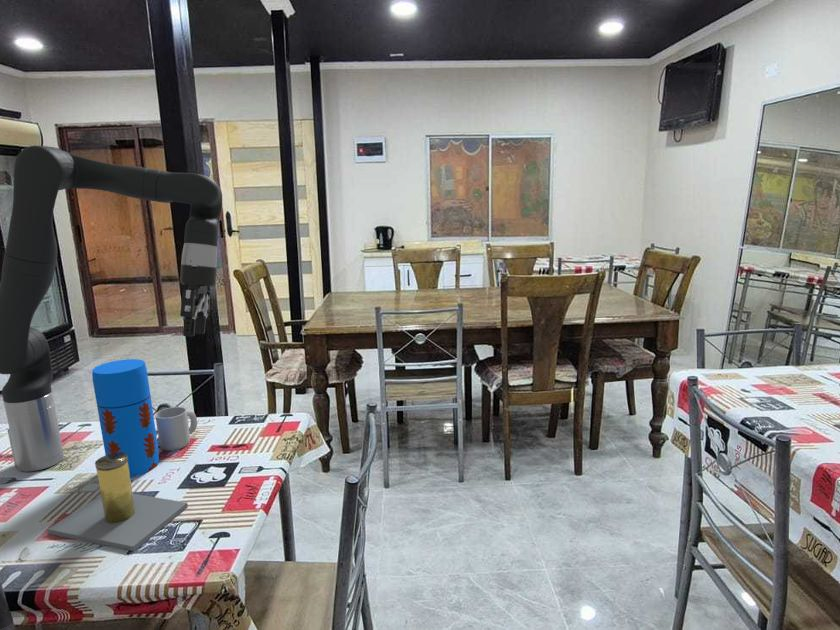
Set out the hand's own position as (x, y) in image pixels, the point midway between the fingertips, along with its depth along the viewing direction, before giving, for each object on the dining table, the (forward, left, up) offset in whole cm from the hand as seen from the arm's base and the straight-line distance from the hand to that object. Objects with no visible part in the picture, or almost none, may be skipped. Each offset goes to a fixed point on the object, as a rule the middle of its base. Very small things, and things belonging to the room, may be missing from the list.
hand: (194, 335), depth 119 cm
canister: (-1, -26, -30) cm, 39 cm away
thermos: (-15, -8, -31) cm, 35 cm away
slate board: (-1, -26, -31) cm, 40 cm away
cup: (-13, +5, -31) cm, 34 cm away
